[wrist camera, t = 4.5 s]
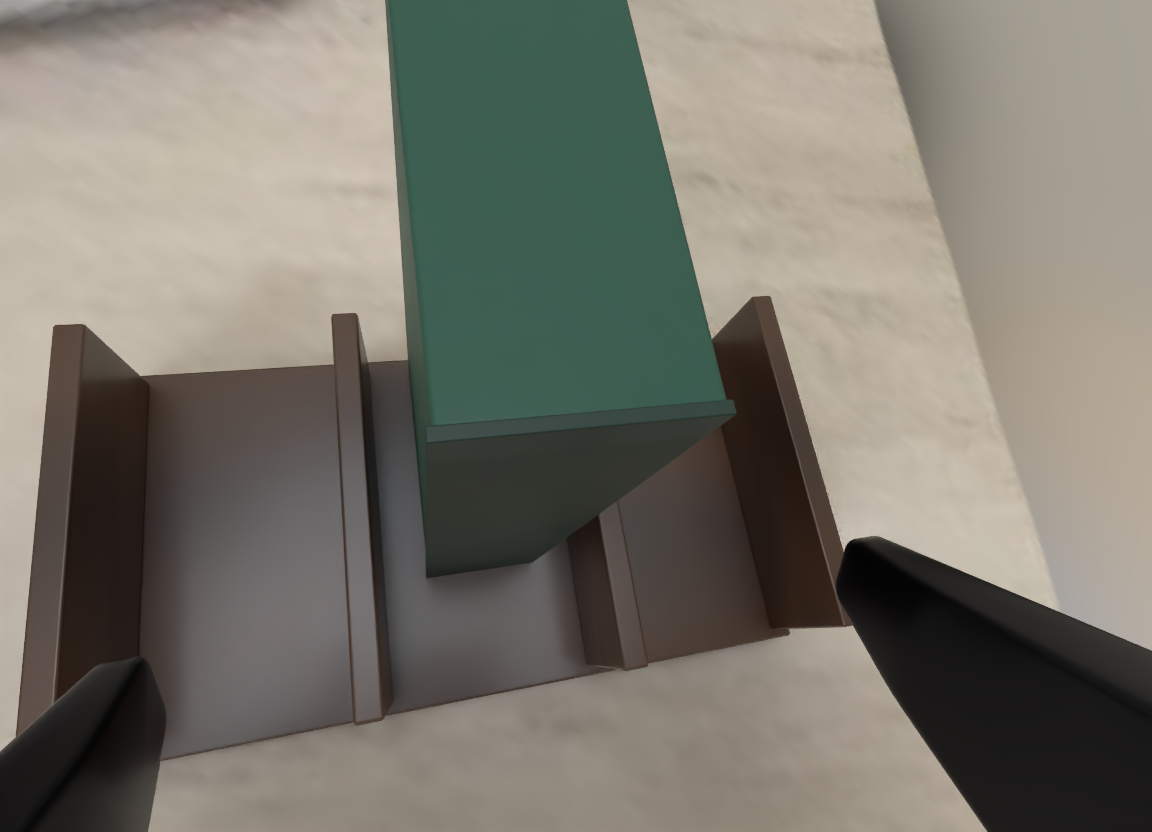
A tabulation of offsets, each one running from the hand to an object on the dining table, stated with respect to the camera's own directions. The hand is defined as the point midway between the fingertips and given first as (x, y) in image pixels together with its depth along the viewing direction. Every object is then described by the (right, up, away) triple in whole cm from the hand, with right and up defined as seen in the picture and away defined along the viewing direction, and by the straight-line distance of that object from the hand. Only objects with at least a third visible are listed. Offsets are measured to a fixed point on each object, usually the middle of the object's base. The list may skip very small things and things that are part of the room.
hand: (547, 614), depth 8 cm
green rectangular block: (-3, +1, +10) cm, 10 cm away
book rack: (-3, 0, +10) cm, 11 cm away
